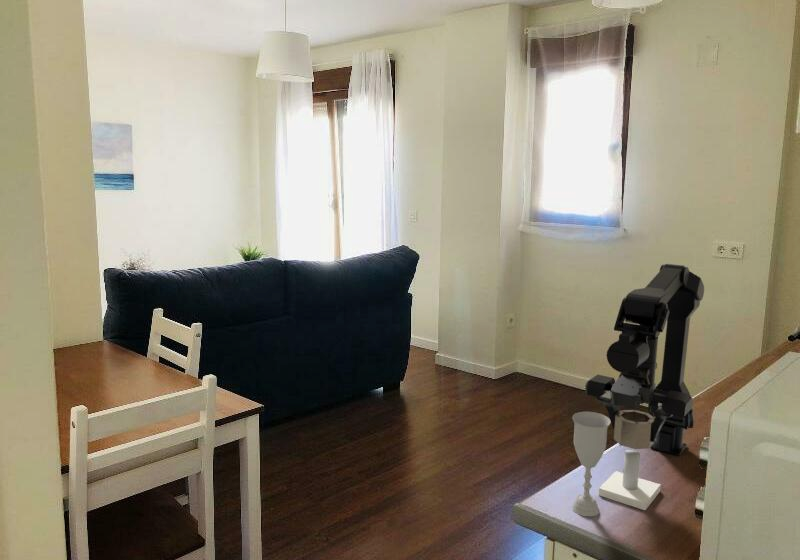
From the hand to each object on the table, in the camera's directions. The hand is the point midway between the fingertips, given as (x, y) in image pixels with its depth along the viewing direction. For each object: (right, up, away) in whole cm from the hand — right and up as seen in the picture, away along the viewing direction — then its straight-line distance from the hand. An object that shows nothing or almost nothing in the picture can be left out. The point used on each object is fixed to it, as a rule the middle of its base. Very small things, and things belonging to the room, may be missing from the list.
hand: (634, 436), depth 125 cm
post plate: (0, -12, +2) cm, 12 cm away
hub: (0, -1, 0) cm, 1 cm away
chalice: (-10, -13, -4) cm, 17 cm away
